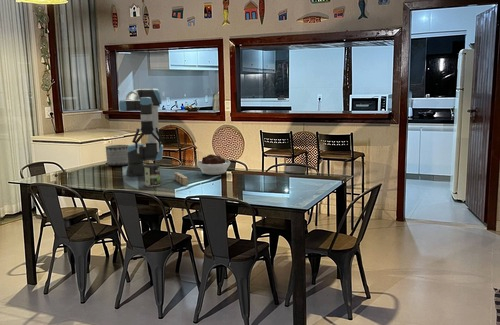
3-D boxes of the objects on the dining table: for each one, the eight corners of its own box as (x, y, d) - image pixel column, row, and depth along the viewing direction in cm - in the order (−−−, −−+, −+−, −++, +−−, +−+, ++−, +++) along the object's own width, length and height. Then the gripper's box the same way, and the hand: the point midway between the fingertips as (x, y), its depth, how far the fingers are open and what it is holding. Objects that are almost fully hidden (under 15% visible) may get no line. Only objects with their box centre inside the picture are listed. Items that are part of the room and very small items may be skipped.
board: (174, 179, 348) (174, 172, 347) (178, 179, 349) (178, 172, 348) (183, 185, 328) (183, 178, 327) (187, 184, 329) (187, 177, 328)
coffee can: (162, 183, 334) (161, 163, 332) (157, 186, 324) (156, 166, 322) (148, 183, 336) (147, 163, 334) (142, 186, 326) (141, 165, 324)
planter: (102, 167, 403) (101, 147, 400) (112, 163, 422) (111, 144, 419) (124, 167, 400) (123, 147, 397) (133, 163, 419) (132, 144, 416)
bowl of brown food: (225, 170, 382) (225, 151, 380) (234, 175, 359) (234, 155, 356) (194, 172, 374) (193, 153, 372) (201, 178, 351) (200, 157, 348)
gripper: (129, 122, 311) (131, 154, 315) (166, 120, 322) (168, 151, 326) (126, 121, 318) (128, 153, 321) (163, 119, 329) (164, 150, 333)
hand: (148, 152), depth 324 cm, fingers open, 13 cm apart
